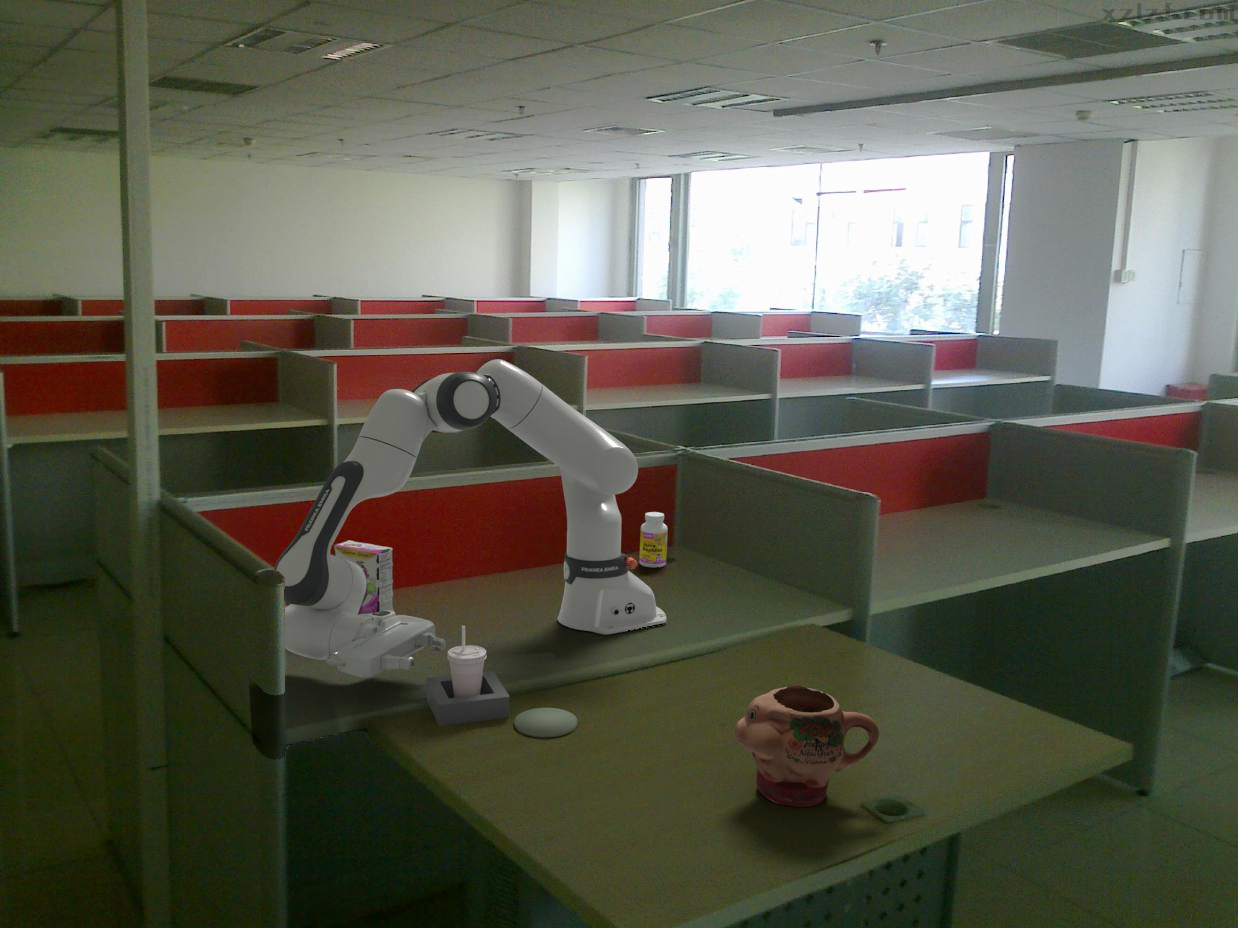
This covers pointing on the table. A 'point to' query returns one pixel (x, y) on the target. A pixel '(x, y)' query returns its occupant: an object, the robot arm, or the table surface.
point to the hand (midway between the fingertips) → (427, 654)
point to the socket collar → (467, 701)
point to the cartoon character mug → (799, 742)
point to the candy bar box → (371, 573)
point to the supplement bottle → (653, 541)
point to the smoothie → (466, 668)
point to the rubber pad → (545, 722)
